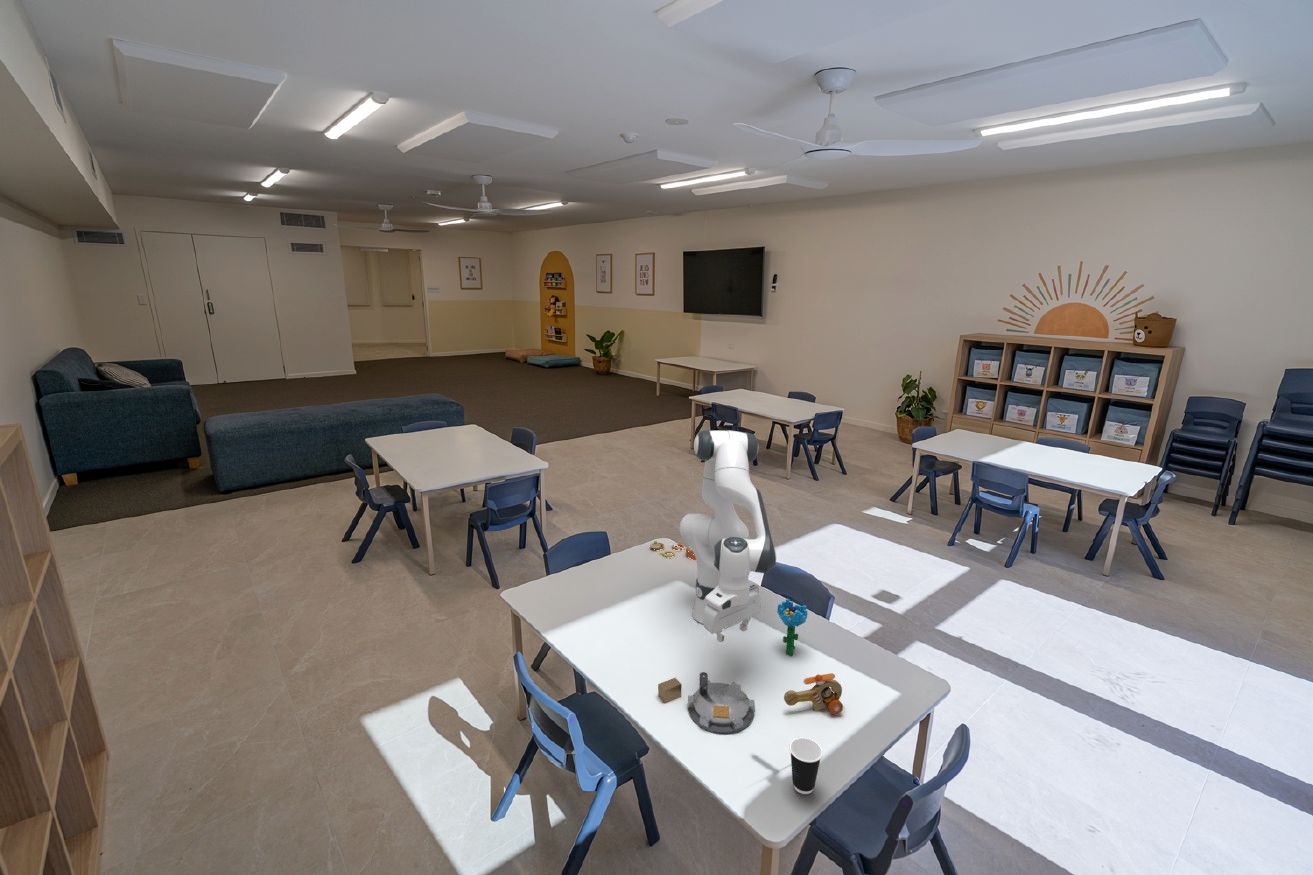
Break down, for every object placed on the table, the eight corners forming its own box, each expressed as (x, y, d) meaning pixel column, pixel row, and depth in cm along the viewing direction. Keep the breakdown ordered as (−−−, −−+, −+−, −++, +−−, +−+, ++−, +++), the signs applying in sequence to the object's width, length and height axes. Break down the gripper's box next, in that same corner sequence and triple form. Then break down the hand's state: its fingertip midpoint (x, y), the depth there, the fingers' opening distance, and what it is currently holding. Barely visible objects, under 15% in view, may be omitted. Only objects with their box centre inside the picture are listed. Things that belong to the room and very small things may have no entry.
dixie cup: (781, 787, 141) (783, 749, 139) (796, 768, 147) (799, 732, 144) (810, 805, 136) (813, 766, 134) (825, 785, 142) (828, 747, 139)
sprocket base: (726, 681, 180) (727, 678, 180) (767, 718, 164) (767, 715, 164) (675, 702, 171) (675, 699, 171) (713, 743, 155) (713, 740, 155)
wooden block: (675, 691, 176) (675, 677, 175) (681, 698, 173) (681, 683, 172) (658, 698, 173) (658, 683, 172) (664, 705, 170) (664, 690, 169)
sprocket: (689, 684, 177) (689, 661, 175) (752, 688, 175) (753, 665, 173) (686, 726, 160) (686, 701, 158) (756, 731, 158) (757, 706, 156)
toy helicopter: (845, 713, 167) (849, 678, 164) (788, 722, 163) (791, 686, 160) (833, 697, 173) (836, 663, 170) (779, 705, 170) (781, 671, 167)
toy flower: (784, 642, 201) (787, 595, 197) (808, 653, 195) (811, 604, 191) (770, 654, 194) (773, 605, 190) (794, 665, 189) (798, 615, 184)
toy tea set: (705, 550, 275) (705, 531, 273) (707, 565, 260) (707, 545, 258) (650, 550, 275) (650, 531, 273) (649, 564, 260) (649, 544, 258)
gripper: (751, 578, 177) (749, 619, 180) (700, 598, 165) (699, 641, 168) (766, 586, 172) (764, 628, 175) (715, 607, 160) (714, 652, 163)
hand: (732, 635), depth 172 cm, fingers open, 8 cm apart
